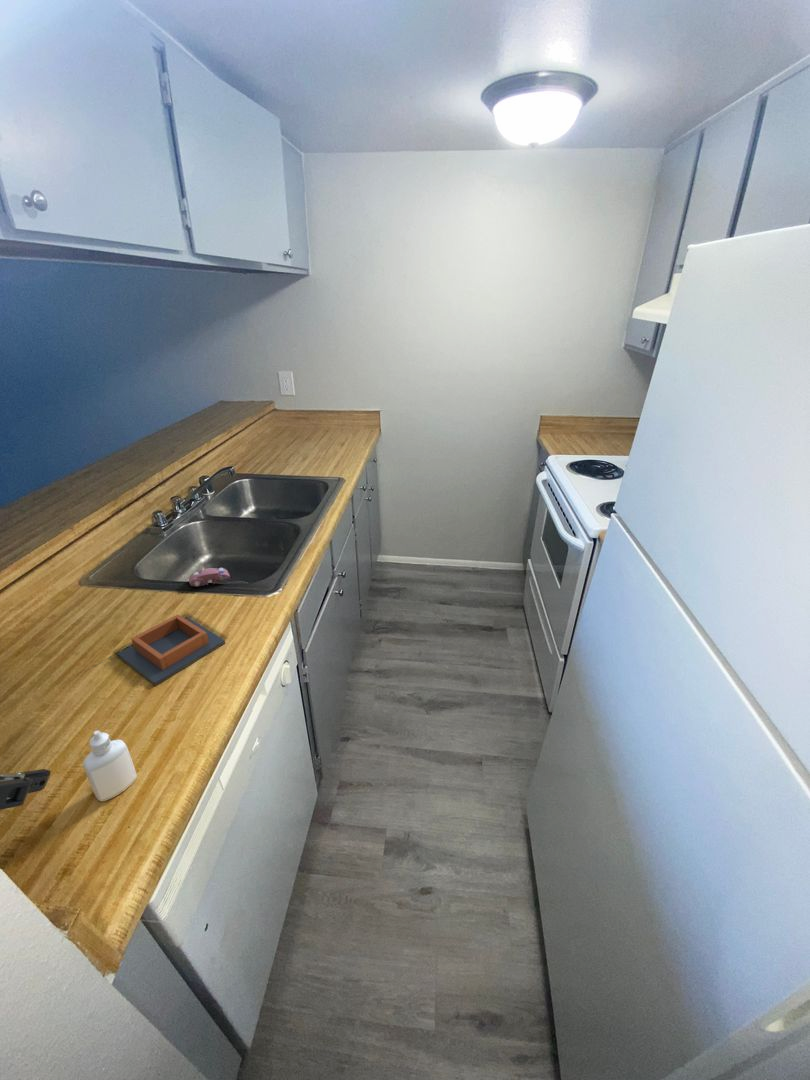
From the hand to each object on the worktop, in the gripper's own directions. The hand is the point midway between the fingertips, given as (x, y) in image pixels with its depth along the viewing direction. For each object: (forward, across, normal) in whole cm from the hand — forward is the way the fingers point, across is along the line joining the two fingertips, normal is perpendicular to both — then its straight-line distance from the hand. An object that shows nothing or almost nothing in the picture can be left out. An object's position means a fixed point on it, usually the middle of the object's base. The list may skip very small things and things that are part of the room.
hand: (16, 770), depth 56 cm
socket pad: (+40, +13, -16) cm, 45 cm away
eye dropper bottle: (+19, 0, +5) cm, 20 cm away
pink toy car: (+57, +20, -33) cm, 69 cm away
